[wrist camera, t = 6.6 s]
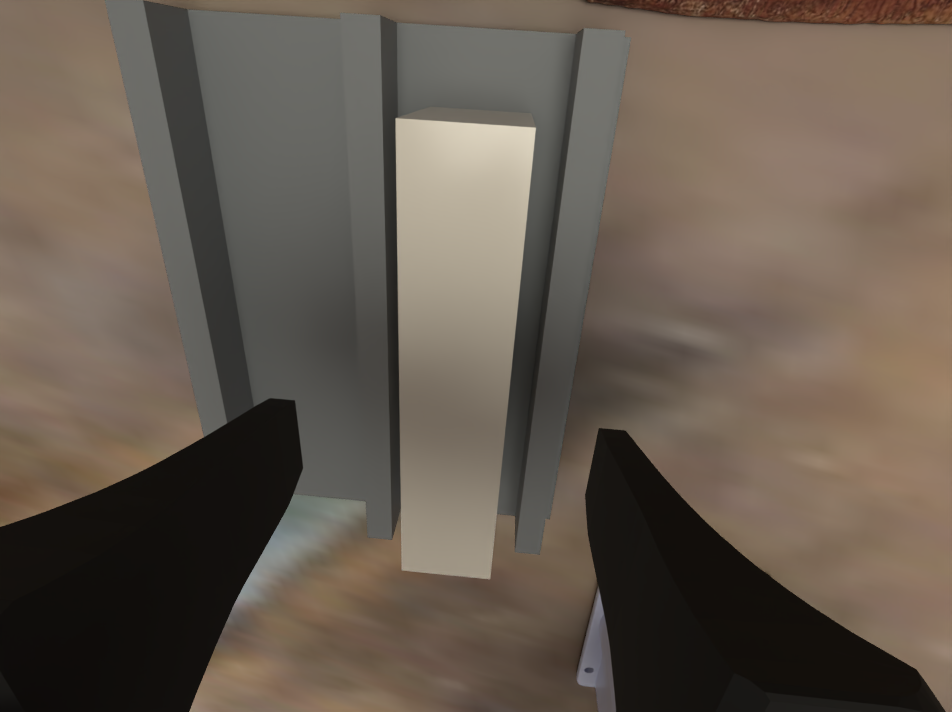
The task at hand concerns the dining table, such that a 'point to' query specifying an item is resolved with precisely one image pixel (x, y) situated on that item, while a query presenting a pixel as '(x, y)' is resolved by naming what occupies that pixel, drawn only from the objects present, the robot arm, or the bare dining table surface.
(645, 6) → the wooden tablet
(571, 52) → the grooved grey tray
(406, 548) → the clay bar
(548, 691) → the dining table surface
